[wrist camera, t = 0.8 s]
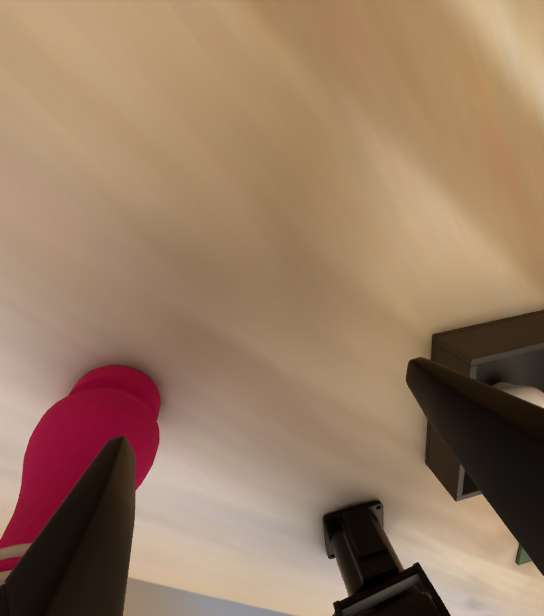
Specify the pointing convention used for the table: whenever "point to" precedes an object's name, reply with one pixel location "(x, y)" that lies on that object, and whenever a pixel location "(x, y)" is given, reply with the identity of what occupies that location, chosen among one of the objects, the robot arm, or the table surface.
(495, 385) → the mushroom
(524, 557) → the placemat
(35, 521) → the pepper mill
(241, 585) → the table surface
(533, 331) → the black box
